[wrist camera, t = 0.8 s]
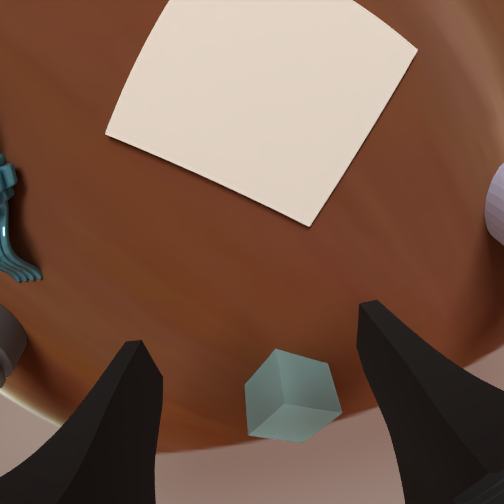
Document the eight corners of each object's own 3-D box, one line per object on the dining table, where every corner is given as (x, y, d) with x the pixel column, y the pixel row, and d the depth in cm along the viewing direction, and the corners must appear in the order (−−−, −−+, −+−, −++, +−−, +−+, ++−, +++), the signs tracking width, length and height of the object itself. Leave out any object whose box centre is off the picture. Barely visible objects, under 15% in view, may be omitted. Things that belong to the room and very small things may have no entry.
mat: (414, 50, 13) (417, 50, 12) (307, 224, 18) (309, 227, 17) (216, -62, 9) (215, -65, 9) (107, 132, 14) (104, 134, 14)
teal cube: (327, 362, 24) (342, 412, 20) (294, 395, 26) (302, 442, 22) (275, 348, 23) (284, 403, 18) (244, 384, 25) (248, 435, 20)
